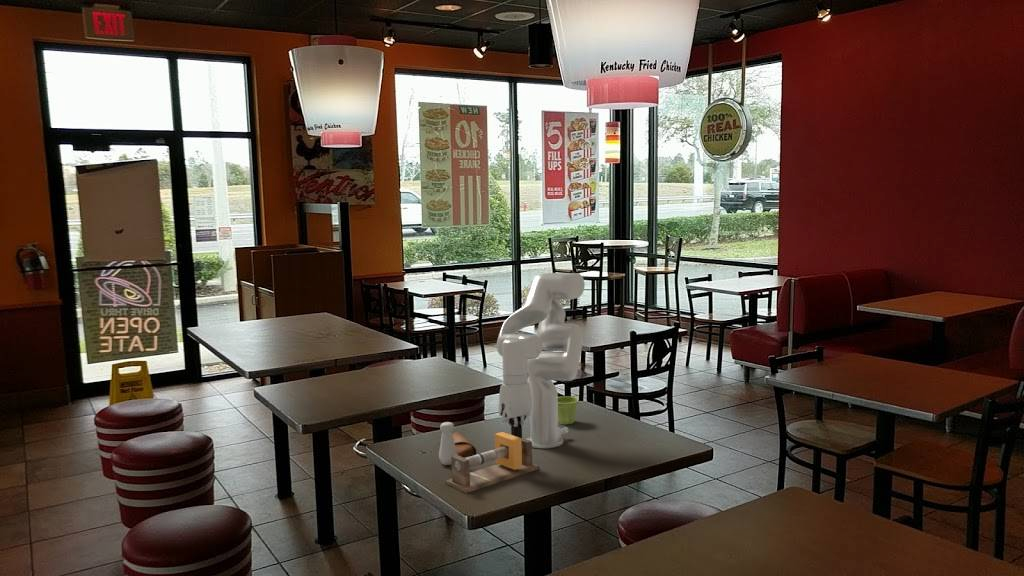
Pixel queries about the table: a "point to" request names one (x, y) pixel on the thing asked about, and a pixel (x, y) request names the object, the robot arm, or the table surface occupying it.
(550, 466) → the table surface
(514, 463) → the collar
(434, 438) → the table surface
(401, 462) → the table surface
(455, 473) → the pipe stand
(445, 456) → the salt shaker
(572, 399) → the plant pot
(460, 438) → the sunglasses case
